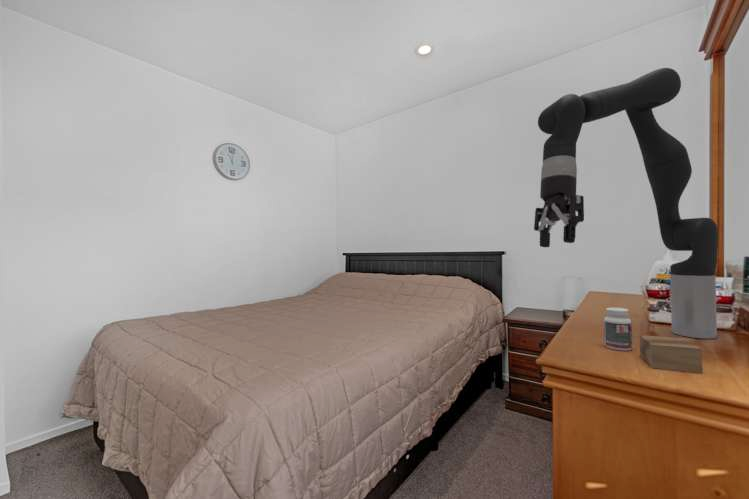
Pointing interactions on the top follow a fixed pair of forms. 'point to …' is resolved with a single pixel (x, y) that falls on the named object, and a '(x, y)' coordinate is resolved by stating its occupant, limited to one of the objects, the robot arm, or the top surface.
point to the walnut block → (671, 353)
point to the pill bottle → (618, 329)
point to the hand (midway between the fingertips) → (556, 244)
